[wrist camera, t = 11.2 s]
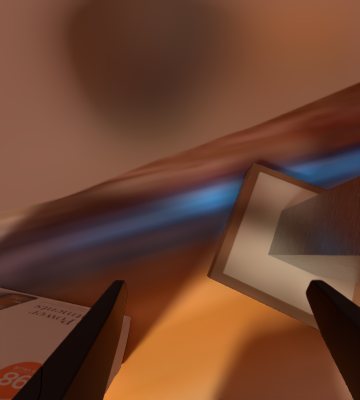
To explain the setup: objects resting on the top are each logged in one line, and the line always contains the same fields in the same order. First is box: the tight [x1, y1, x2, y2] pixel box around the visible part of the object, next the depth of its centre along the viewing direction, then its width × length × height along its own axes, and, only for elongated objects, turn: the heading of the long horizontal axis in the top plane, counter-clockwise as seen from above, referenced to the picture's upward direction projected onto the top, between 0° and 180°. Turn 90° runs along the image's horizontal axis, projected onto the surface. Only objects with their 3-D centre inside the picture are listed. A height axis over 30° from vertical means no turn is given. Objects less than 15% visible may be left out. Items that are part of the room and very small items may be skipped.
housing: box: [268, 177, 360, 283], centre depth 14 cm, size 5×5×12 cm
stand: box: [207, 163, 360, 330], centre depth 21 cm, size 14×14×3 cm
